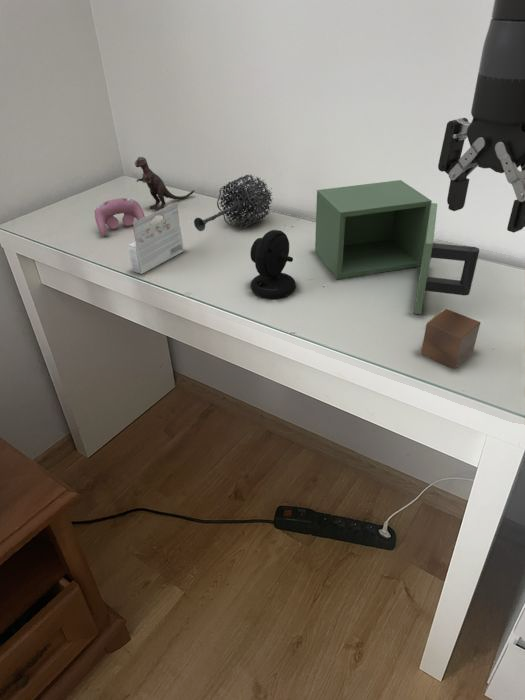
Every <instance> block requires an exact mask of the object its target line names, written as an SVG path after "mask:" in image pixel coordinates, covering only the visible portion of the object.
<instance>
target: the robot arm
mask: <svg viewBox="0 0 525 700" xmlns="http://www.w3.org/2000/svg"><path fill="white" fill-rule="evenodd" d="M472 100H473V101H472V103H471V104H472V105H471V110H470V115H471V116H472V120H471V122H469V119H468V118H467V117H462V118H461V117H459V118H455V119H453V120H449V121H448V122H447V123H446V127H445V131H444V136H443V140H442V146H441V151H440V154H439V155H440V156H439V159H438V165H437V169H438V170H439V171H440V172H442V173H443V172H445V173H446V174H447V175H448V178H449V180H450V181H449V186H448V194H447V199H446V202H447V205H448V206H447V207H448V210H449V211H452V212H457V211H459V210H462V209H463V208H464V207H465V205H466V199H467V193H468V190H469V189H468V188H469V185H470V178H467V177H468V176H469V175H470V174H471V173H472V172H473V171H474V170H475V169H476V168H477V167H478V168H481V169H491V170H492V171H494V172H495V173H499V174H504V176H505V178H506V180H507V182H508V184H511V186H512V188H513V189H512V190H513V191H514V195H515V197H516V199H514V200H513V204H512V207H511V211H510V216H509V219H508V223H507V228H506V230H507V231H508V232H511V233H517V232H519V231H522V230H523V228H525V0H493V6H492V12H491V19H490V22H489V26H488V29H487V32H486V35H485V39H484V42H483V47H482V50H481V56H480V62H479V67H478V72H477V79H476V83H475V88H474V93H473V99H472ZM466 139H467V140H468V143H469V146H470V147H469V148H468V149H467V150H466V151H465V152H464V153H463V148H464V144H465V140H466ZM462 153H463V154H462ZM519 167H520V169H521V170H519V169H518V168H519Z"/></svg>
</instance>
